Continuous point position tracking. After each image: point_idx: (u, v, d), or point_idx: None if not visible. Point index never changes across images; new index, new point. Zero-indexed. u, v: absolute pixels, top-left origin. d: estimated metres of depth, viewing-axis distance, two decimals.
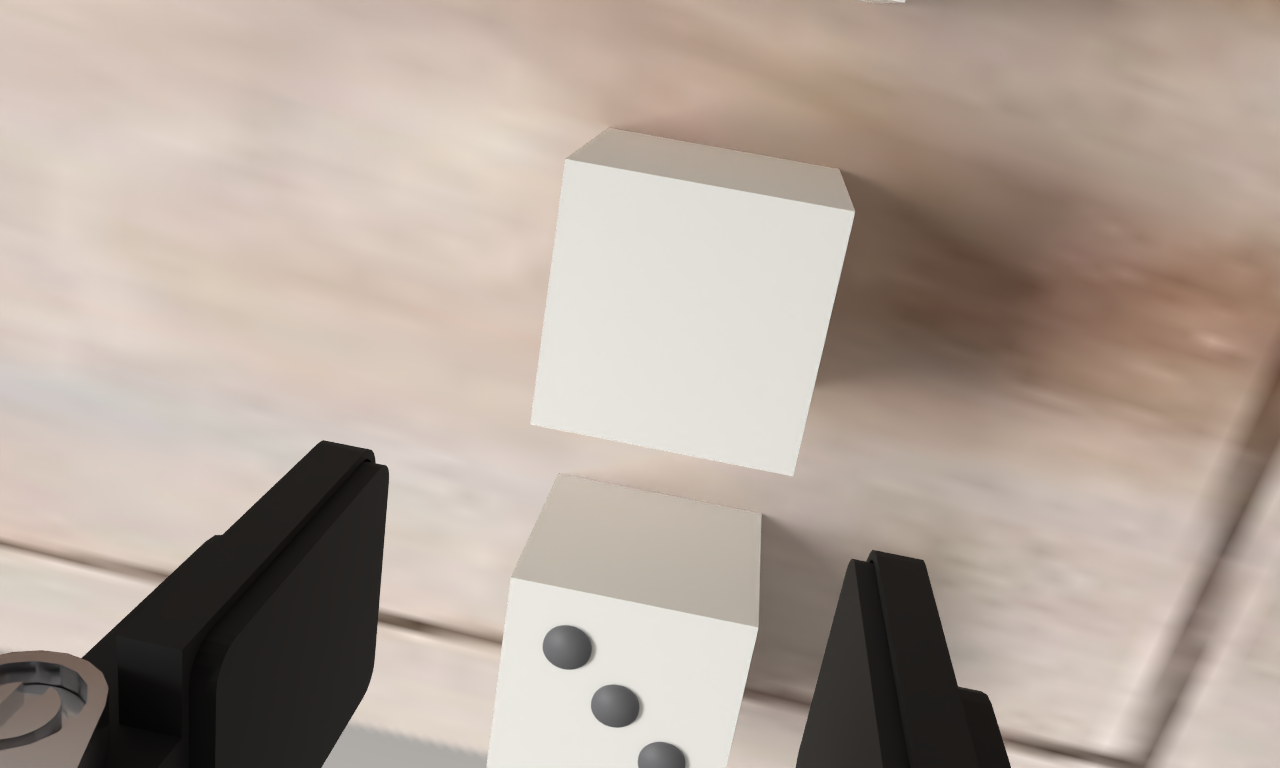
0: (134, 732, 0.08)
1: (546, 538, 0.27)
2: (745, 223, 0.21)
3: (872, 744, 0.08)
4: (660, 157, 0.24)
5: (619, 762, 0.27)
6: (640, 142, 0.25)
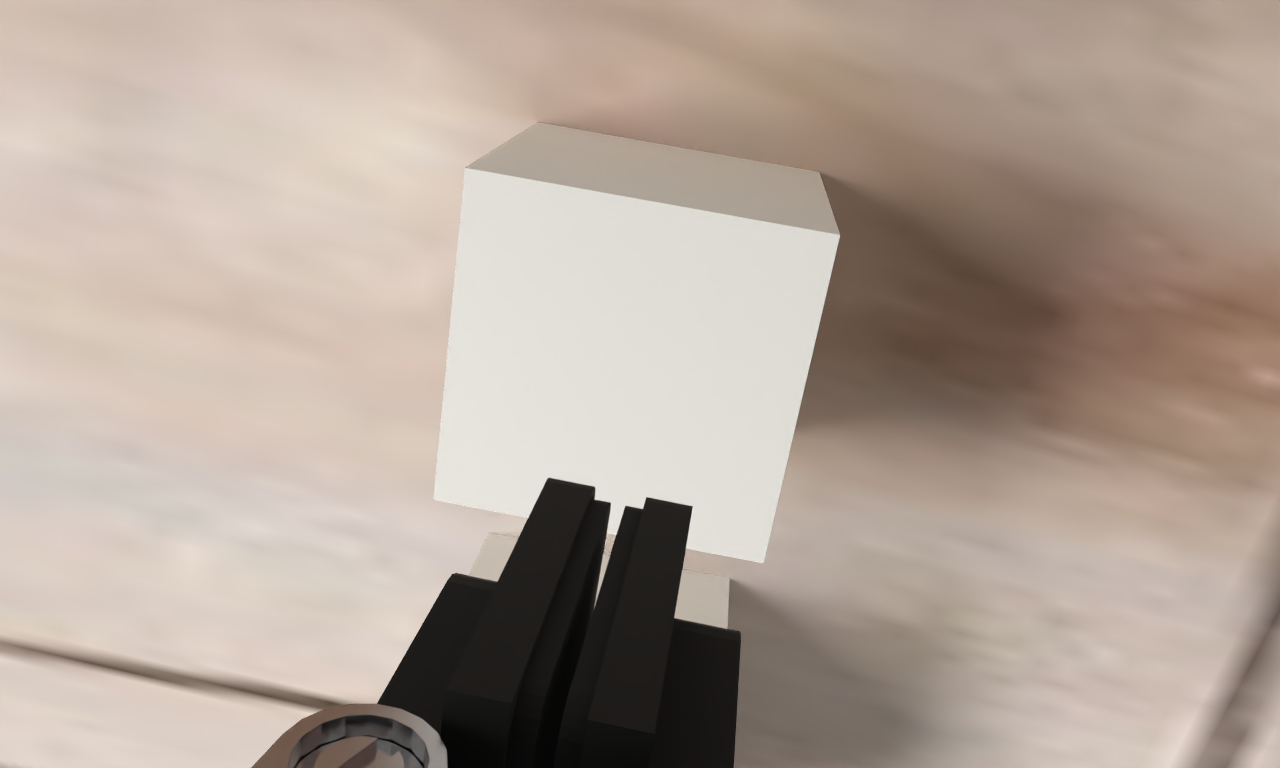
0: None
1: None
2: (698, 250, 0.17)
3: None
4: (594, 162, 0.19)
5: None
6: (573, 141, 0.20)
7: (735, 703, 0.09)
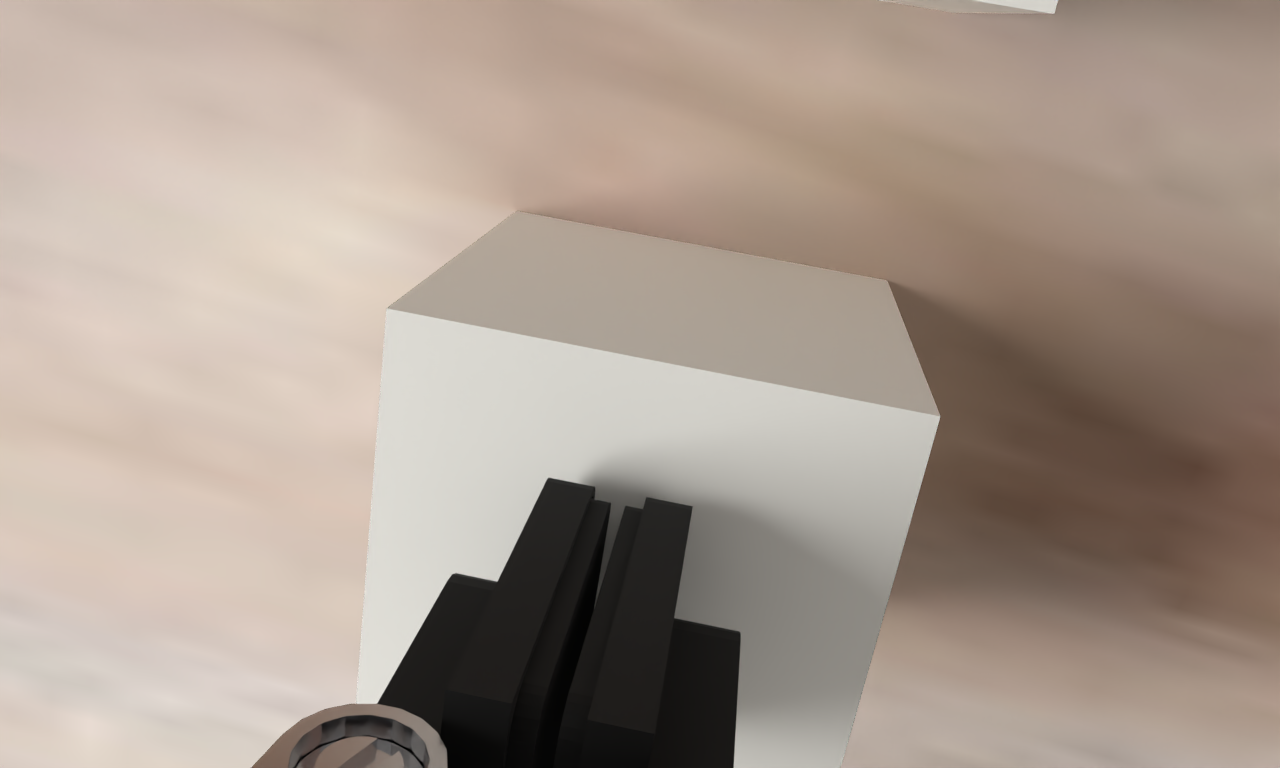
0: None
1: None
2: (728, 433, 0.11)
3: None
4: (583, 282, 0.14)
5: None
6: (559, 243, 0.15)
7: (735, 703, 0.09)
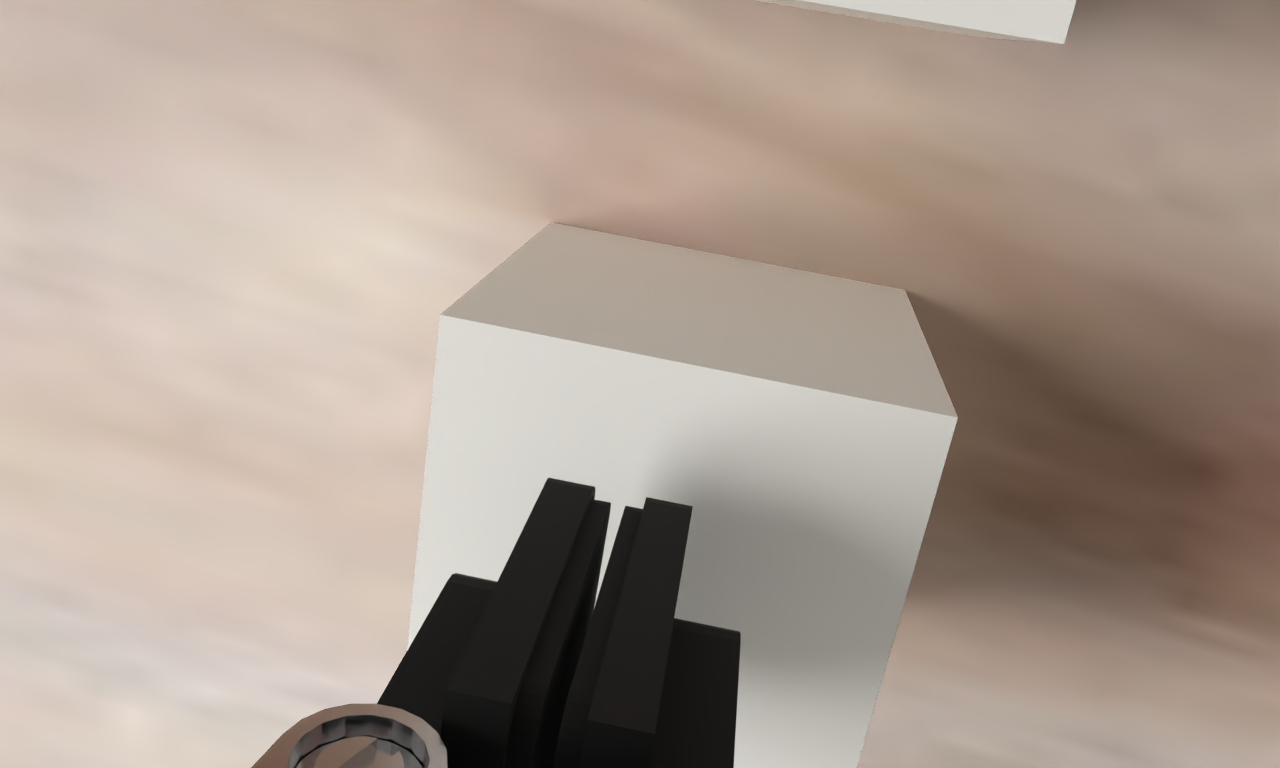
0: None
1: None
2: (757, 432, 0.12)
3: None
4: (618, 291, 0.14)
5: None
6: (593, 254, 0.16)
7: (735, 703, 0.09)
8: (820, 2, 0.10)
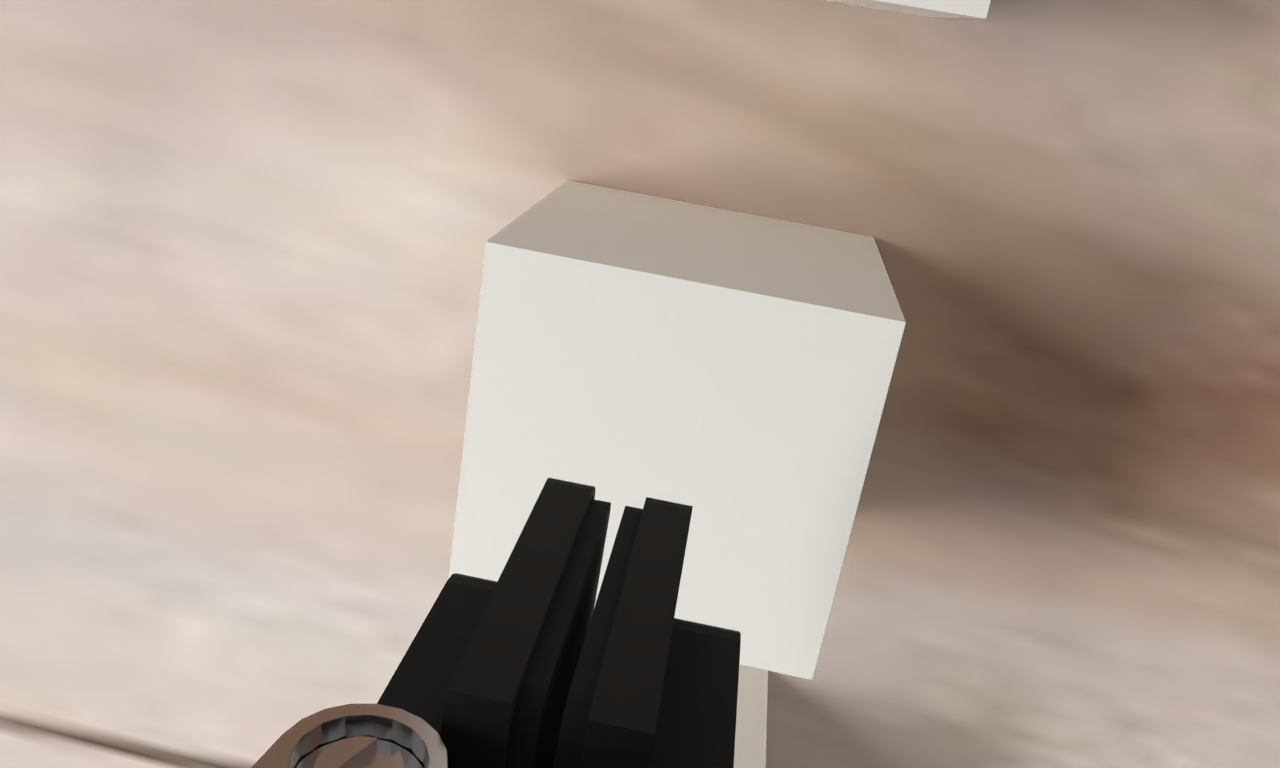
0: None
1: None
2: (744, 336, 0.15)
3: None
4: (629, 230, 0.17)
5: None
6: (606, 204, 0.19)
7: (735, 703, 0.09)
8: None
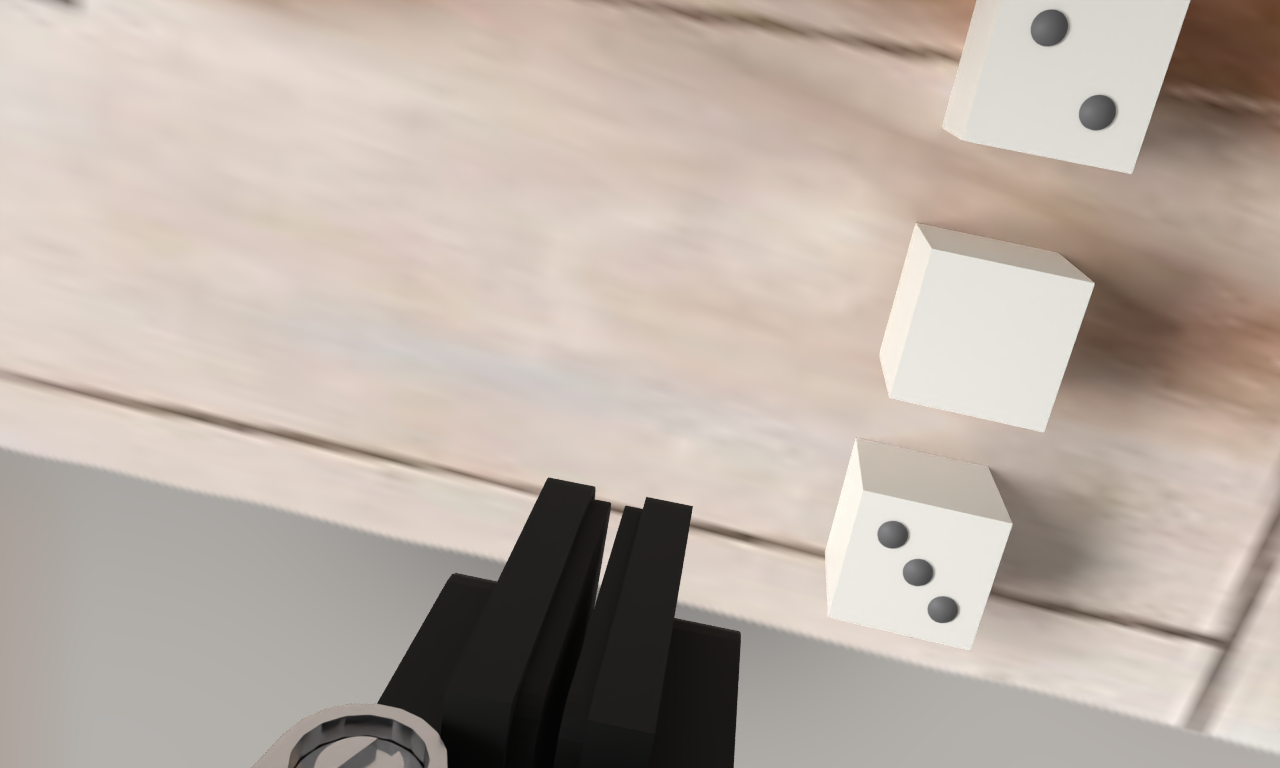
0: None
1: (870, 472, 0.44)
2: (1031, 287, 0.39)
3: None
4: (968, 246, 0.41)
5: (915, 609, 0.43)
6: (945, 234, 0.43)
7: (735, 703, 0.09)
8: None
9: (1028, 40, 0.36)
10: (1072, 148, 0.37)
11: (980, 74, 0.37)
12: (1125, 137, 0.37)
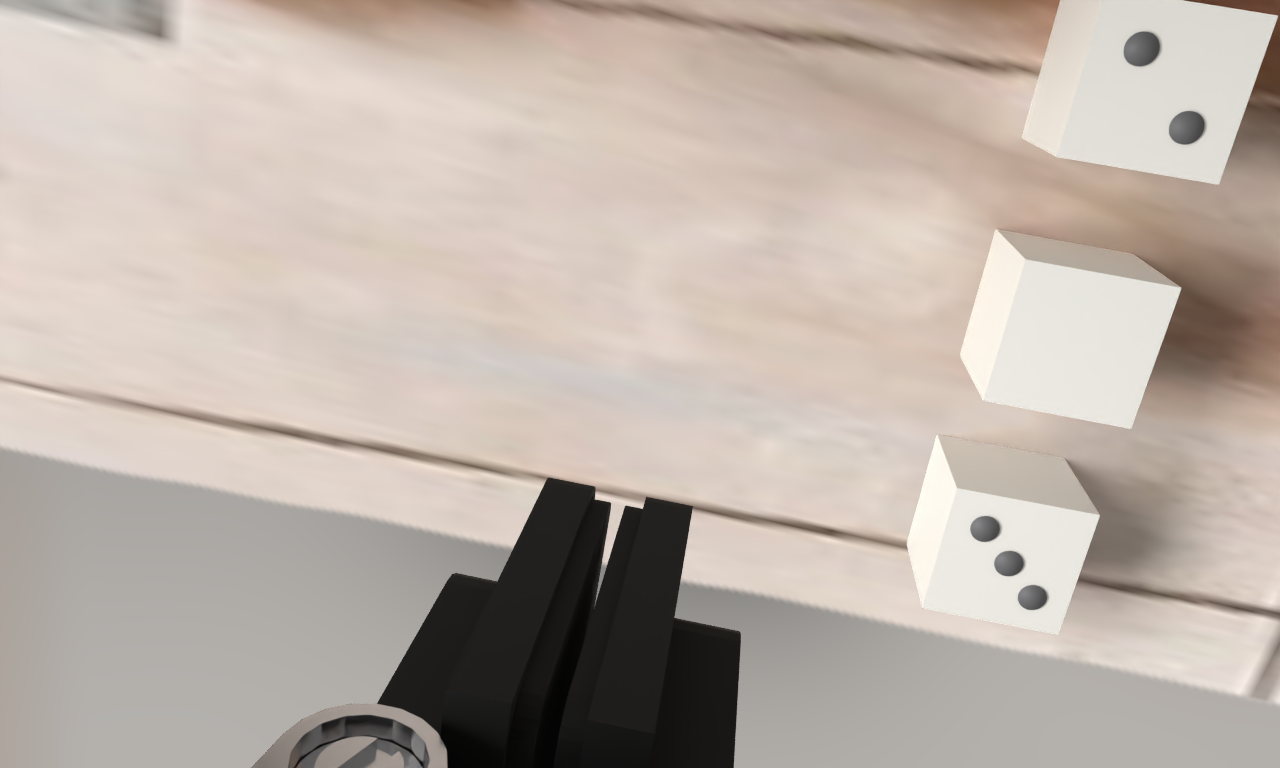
0: None
1: (958, 469, 0.46)
2: (1120, 293, 0.41)
3: None
4: (1054, 253, 0.43)
5: (1005, 598, 0.46)
6: (1027, 241, 0.45)
7: (735, 703, 0.09)
8: (1153, 173, 0.39)
9: (1121, 61, 0.38)
10: (1162, 161, 0.39)
11: (1074, 94, 0.39)
12: (1213, 150, 0.39)
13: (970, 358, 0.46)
